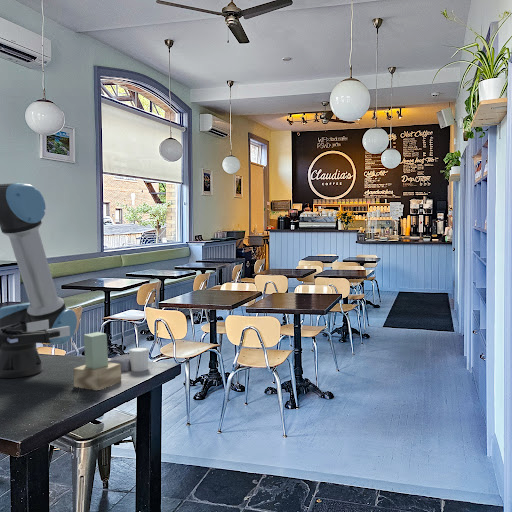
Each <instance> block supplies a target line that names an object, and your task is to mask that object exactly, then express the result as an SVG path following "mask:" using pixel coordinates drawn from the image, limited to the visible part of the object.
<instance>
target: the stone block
mask: <svg viewBox="0 0 512 512" xmlns="http://www.w3.org/2000/svg"><path fill="white" fill-rule="evenodd" d="M108 363H117V364H121V372H129V371H132V370H131V364H130V356H129V353H128V354H126V353H125V354H122V355H117V356H114V357H113V358H111V359H110V360H108Z"/></svg>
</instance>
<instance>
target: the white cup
mask: <svg viewBox="0 0 512 512" xmlns="http://www.w3.org/2000/svg"><path fill="white" fill-rule="evenodd" d="M128 354H129V356H130V364H131V370H130V371H131V372H144V371H147V370H148V369H149V355H150V348H149V347H145V346H140V347H139V346H138V347H132V348H130V349H128Z"/></svg>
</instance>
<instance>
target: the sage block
mask: <svg viewBox="0 0 512 512" xmlns="http://www.w3.org/2000/svg"><path fill="white" fill-rule="evenodd" d="M107 337H108V336H107V333H104V332H102V331H96V332H95V331H94V332H92V333H85V334H83V349H84V365H85V366H86V367H89V368H91V369H97V368H101V367H105V366H108V361H109V356H108V355H109V354H108V353H109V352H108V340H107V339H108V338H107Z"/></svg>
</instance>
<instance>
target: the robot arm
mask: <svg viewBox="0 0 512 512" xmlns="http://www.w3.org/2000/svg"><path fill="white" fill-rule="evenodd" d="M45 202H46V200H45V198H44V196H43V194H42V192H41V191H40V190H39V189H38V188H37V187H35V186H34V185H31V184H28V183H19V182H14V183H0V230H1V233H2V234H4V235H6V236H7V237H8V238H9V240H10V241H9V242H10V244H11V247H12V250H13V251H12V252H13V254H14V258H15V260H16V263H17V266H18V271H19V273H20V276H21V280H22V282H23V285H24V289H25V292H26V296H27V298H28V299H27V300H28V302H25V303H19V304H18V303H17V304H11V305H6V306H2V307H0V379H1V378H2V379H12V378H13V379H15V378H23V377H24V378H25V377H29V376H33V375H36V374H39V373H41V372H42V371H43V370H44V369H43V368H44V367H43V362H42V359H41V356H40V353H39V351H38V349H37V344H46V345H47V344H49V345H53V346H56V345H65V344H67V343H68V342H69V341H70V340H72V338H73V336H74V334H75V333H76V330H77V325H78V318H77V314H76V311H74V310H73V309H71V308H67V307H66V304H65V300H64V299H63V298H62V297H59V296H58V293H57V290H56V286H55V283H54V279H53V276H52V273H51V269H50V265H49V263H48V259H47V255H46V252H45V249H44V245H43V242H42V238H41V233H40V231H39V228H40V227H41V226H42V223H43V222H42V220H43V219H44V217H45V215H46V211H45V210H46V203H45Z"/></svg>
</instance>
